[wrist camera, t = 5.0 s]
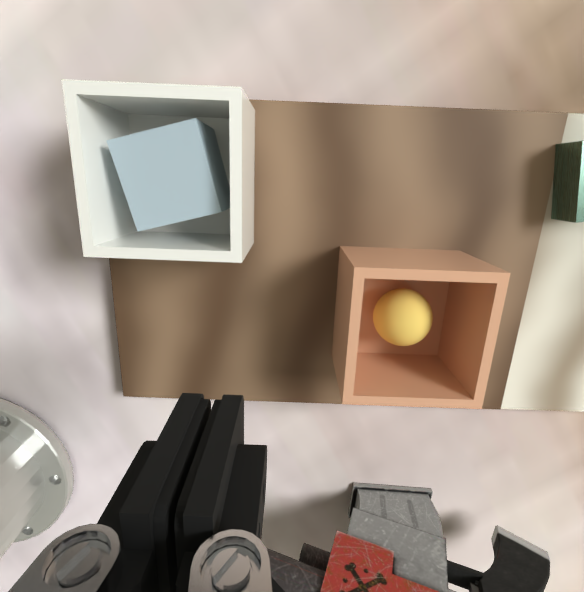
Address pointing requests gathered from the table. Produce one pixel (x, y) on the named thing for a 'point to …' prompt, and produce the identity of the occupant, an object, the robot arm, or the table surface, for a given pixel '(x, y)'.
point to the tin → (568, 182)
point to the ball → (402, 317)
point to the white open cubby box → (144, 116)
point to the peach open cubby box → (437, 343)
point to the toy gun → (405, 552)
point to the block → (171, 173)
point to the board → (366, 233)
